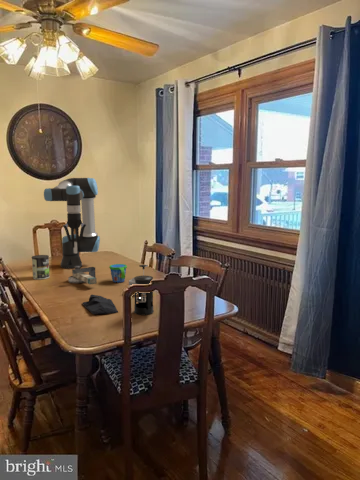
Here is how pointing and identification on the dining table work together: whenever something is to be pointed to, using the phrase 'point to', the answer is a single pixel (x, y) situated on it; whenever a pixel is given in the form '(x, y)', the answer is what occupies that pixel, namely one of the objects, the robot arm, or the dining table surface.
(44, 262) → the coffee can
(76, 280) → the pin plate
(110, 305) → the black folded cloth
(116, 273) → the snack cup
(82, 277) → the link
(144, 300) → the french press
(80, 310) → the dining table surface
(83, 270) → the keeper
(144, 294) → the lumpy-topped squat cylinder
